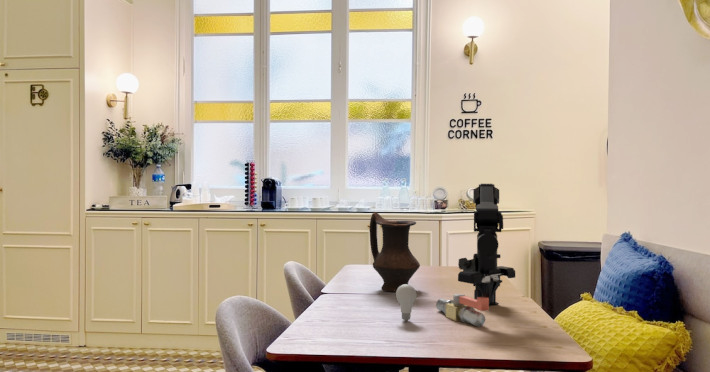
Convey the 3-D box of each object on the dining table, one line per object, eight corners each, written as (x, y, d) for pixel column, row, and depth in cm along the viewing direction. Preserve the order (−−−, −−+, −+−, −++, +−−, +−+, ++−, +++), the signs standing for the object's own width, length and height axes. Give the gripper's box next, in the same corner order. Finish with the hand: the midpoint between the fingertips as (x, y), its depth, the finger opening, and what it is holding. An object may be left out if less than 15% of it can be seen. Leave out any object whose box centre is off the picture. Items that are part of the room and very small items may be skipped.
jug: (428, 288, 221) (428, 213, 221) (406, 296, 205) (407, 214, 205) (381, 283, 232) (382, 211, 232) (358, 290, 216) (358, 213, 216)
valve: (449, 311, 182) (449, 295, 182) (488, 327, 161) (488, 309, 161) (433, 313, 180) (433, 297, 180) (470, 329, 159) (470, 311, 159)
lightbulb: (418, 319, 168) (418, 283, 168) (413, 324, 162) (413, 286, 162) (398, 318, 170) (398, 282, 170) (393, 322, 164) (393, 285, 164)
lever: (490, 312, 159) (490, 297, 159) (479, 313, 158) (479, 298, 158) (460, 302, 173) (461, 289, 173) (451, 303, 171) (451, 289, 171)
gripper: (487, 245, 174) (487, 295, 174) (444, 250, 163) (444, 303, 163) (516, 249, 165) (516, 302, 165) (472, 254, 154) (472, 310, 154)
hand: (487, 304), depth 162 cm, fingers closed
